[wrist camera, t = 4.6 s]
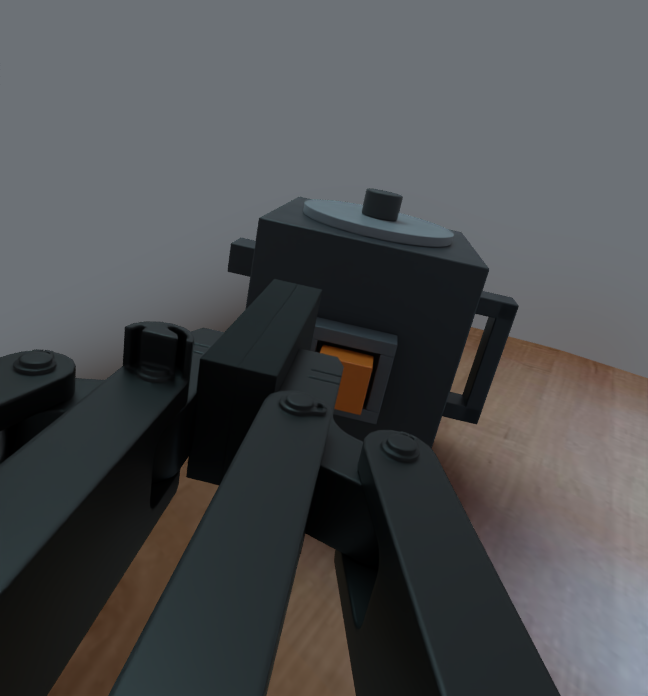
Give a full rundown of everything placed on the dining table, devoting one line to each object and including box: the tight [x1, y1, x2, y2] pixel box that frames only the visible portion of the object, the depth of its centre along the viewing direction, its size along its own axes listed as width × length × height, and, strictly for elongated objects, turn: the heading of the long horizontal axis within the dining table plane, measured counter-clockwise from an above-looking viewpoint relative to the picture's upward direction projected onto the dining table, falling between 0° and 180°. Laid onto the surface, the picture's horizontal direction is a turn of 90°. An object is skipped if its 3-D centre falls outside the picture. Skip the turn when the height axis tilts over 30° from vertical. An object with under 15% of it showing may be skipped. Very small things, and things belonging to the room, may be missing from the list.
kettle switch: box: [320, 345, 374, 415], centre depth 30 cm, size 3×2×3 cm, turn 83°
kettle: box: [228, 189, 518, 448], centre depth 37 cm, size 20×15×20 cm
